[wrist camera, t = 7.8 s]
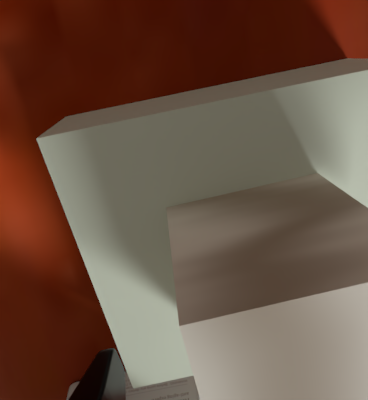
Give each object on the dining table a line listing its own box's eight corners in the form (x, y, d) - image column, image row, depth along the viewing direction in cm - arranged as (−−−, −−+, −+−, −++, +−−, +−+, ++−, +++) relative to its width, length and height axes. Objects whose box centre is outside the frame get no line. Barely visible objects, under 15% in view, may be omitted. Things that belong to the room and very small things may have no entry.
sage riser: (340, 58, 13) (415, 59, 9) (335, 276, 17) (384, 334, 14) (68, 114, 13) (36, 138, 9) (136, 318, 17) (133, 388, 14)
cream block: (317, 172, 10) (447, 263, 6) (321, 291, 12) (419, 426, 8) (166, 207, 10) (179, 326, 6) (195, 321, 12) (221, 473, 8)
